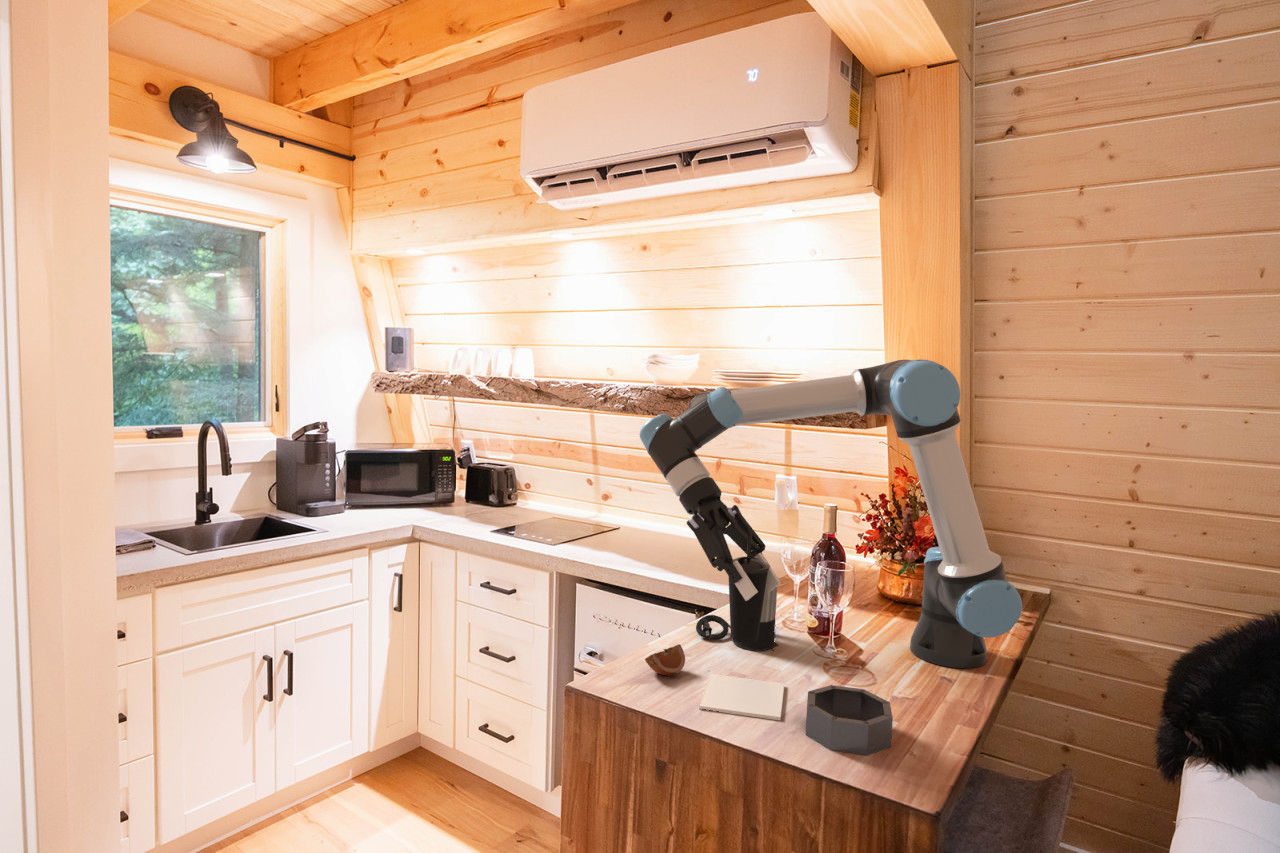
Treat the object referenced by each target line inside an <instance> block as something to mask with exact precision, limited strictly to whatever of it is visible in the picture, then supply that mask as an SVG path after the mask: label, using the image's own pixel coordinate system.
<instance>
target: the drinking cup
mask: <svg viewBox="0 0 1280 853" xmlns="http://www.w3.org/2000/svg"><path fill="white" fill-rule="evenodd" d="M752 529H753V528H752ZM752 529H748V544H747V554H746V556H739V557H736V558H733V562H734V561H736V560H737V561H738V562H739V564H740V565H741V567H742V568H743V570H744V572H745V573H746V574H747V576H748V577H749V579H750V580H751V582H752V583H753V585H754V586H755V588H756V589H757V591H758V592H757V593H756V594H755V595H754V596H753V597H751V598H750V599H749V600H747V601H745V599H744V598H743V596H742V594H741V593H740V591H739V590H738V588H737V587H736V585H735V584H734V583H733V582H732V580H731V579H730V577H729V576H728V594H729V596H728V597H729V600H728V601H729V622H730V623H729V625H730V628H731V629H730V628H729V629H730V638H731V640H732V639H733V640H734V641H737V642H741V643H753V642H756V641H757V640H758V634H759V627H760V621H761V614H762V607H763V601H764V594H765V587H766V581H767V574H768V571H769V569H770V567H771V565H770V564H767V563H765V562H763V561H762V560H760V559H757V558H754V557H751V541H752ZM733 562H732V563H733ZM769 565H770V566H769ZM733 640H732V641H733Z"/></svg>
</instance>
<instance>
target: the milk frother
mask: <svg viewBox="0 0 1280 853" xmlns="http://www.w3.org/2000/svg"><path fill="white" fill-rule="evenodd" d="M778 579H779V580H780V578H779V577H778ZM777 597H778V586H777V587H776V588H774V589H773V590H772V591H770V592H769V590H768V589H767V587H765V594H764V601H763V607H762V614H761V621H760V627H759V634H758V640H757V641H756V642H753V643H741V642H737V641H734V640H733V639H732V638H731V640H732V642H733V643H732V644H734V645H735V646H737V647H739V648H741V649H745V650H749V651H755V652H756V651H767V650H772V649H773V648H774V647H775V646H776V641H775V637H776V631H775V630H776V627H775V626H776V616H777V615H776V614H777V599H778V598H777ZM710 622H711V623H713V622H714V623H716V624H719V625H720V626H721V627H722V631H720V632H719V633H714V634H712V631H713V627H712V626H710V625H711V624H710ZM729 629H730V630H731V628H730V623H728V622H727V621H726V620H725V619H724V618H723V617H721V616H718V615H717V614H716V615H714V614H708V615H707V614H706V615H705V616H702V617H701V618H700V619H699V620H698V621H697V622H696V625H695V631H696V634H698V635H699V636H700V637H702V638H704V639H707V640H710V641H711V640H713V641H714V640H715V641H718V640H721V639H724V638H725V637H727V635H728V633H729ZM774 641H775V642H774Z"/></svg>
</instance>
